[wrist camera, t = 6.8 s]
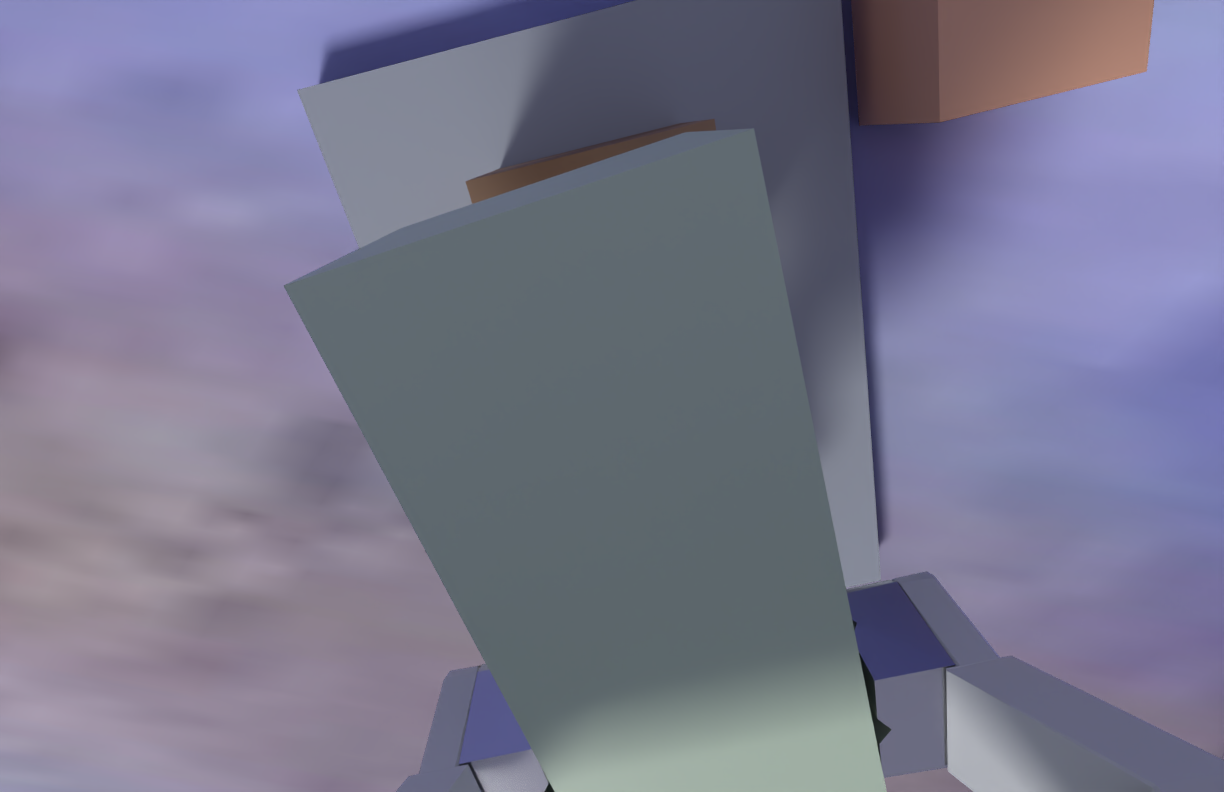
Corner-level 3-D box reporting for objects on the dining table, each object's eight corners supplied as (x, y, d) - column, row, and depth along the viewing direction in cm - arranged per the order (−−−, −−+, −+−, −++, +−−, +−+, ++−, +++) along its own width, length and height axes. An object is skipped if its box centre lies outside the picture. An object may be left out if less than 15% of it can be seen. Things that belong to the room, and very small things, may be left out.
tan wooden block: (679, 123, 16) (714, 118, 12) (709, 301, 18) (750, 356, 14) (499, 168, 17) (465, 181, 12) (548, 338, 19) (534, 406, 14)
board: (820, -41, 16) (837, -54, 15) (867, 559, 24) (880, 580, 23) (316, 93, 17) (297, 90, 16) (521, 630, 25) (518, 653, 24)
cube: (1019, -104, 16) (1174, -190, 12) (1014, 86, 17) (1146, 71, 13) (845, -58, 16) (935, -125, 12) (858, 125, 18) (939, 121, 14)
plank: (684, 131, 8) (754, 128, 5) (846, 798, 13) (930, 1009, 10) (401, 228, 8) (283, 284, 5) (670, 840, 14) (697, 1057, 10)
